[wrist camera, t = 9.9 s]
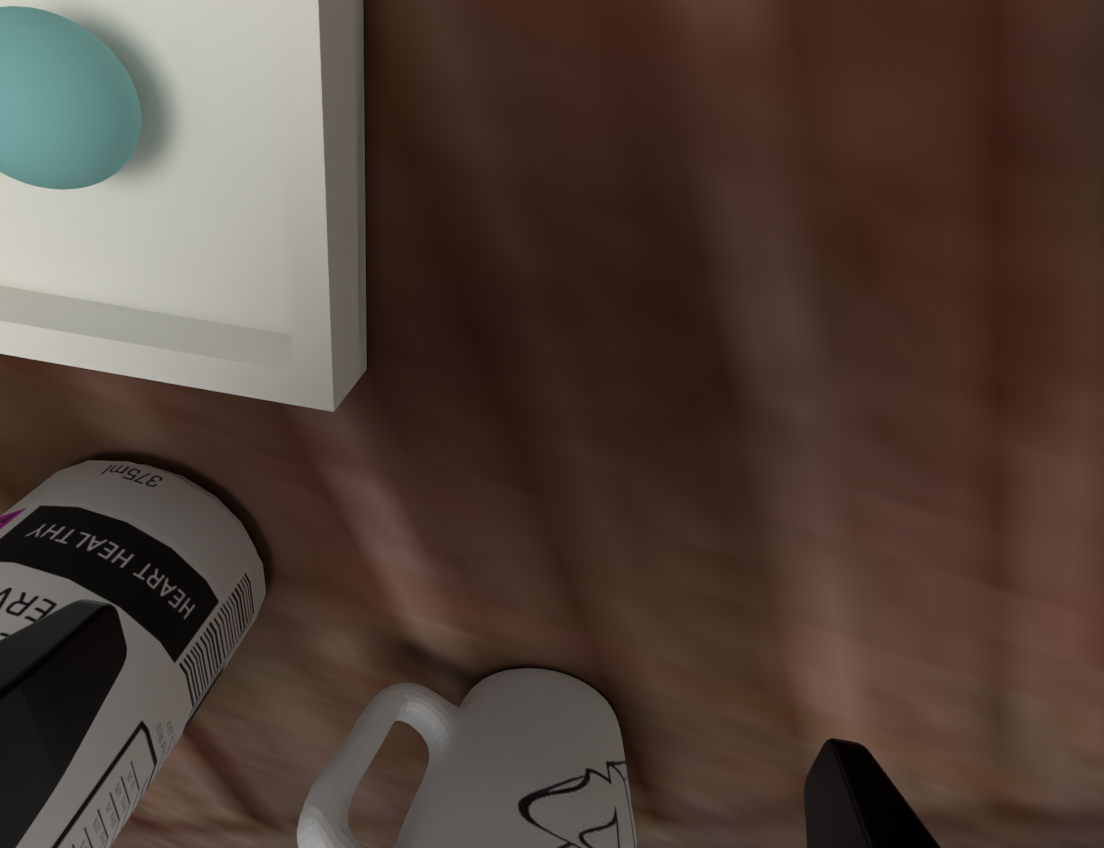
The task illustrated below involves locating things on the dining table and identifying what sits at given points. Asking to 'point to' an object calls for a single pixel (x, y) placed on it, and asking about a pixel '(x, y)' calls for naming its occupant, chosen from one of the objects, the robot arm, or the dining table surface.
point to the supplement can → (129, 619)
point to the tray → (208, 208)
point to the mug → (491, 768)
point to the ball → (62, 102)
